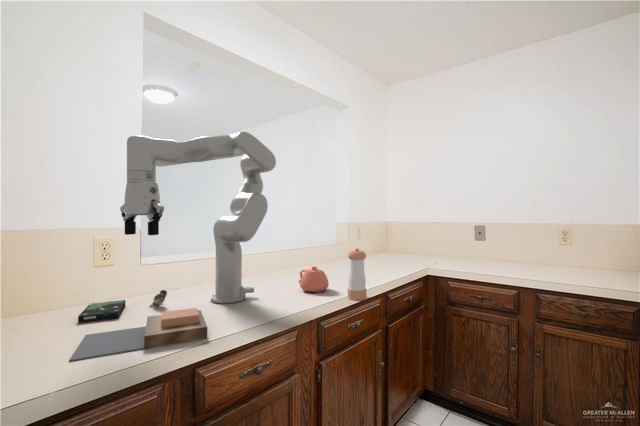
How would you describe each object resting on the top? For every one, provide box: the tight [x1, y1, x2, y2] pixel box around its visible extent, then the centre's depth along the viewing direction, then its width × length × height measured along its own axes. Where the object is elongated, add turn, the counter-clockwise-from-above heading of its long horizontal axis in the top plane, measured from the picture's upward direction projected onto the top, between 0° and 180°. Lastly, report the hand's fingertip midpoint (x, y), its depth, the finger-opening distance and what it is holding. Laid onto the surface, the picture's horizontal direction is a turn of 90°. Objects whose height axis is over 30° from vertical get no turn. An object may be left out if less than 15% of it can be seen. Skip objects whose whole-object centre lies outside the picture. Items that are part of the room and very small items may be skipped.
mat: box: [68, 325, 146, 363], centre depth 75 cm, size 14×16×1 cm
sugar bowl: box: [298, 266, 329, 293], centre depth 131 cm, size 12×14×10 cm
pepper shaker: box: [347, 248, 367, 301], centre depth 118 cm, size 7×7×19 cm
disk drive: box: [77, 299, 126, 324], centre depth 98 cm, size 10×3×15 cm
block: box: [160, 307, 199, 328], centre depth 82 cm, size 9×7×2 cm
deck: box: [143, 309, 208, 350], centre depth 82 cm, size 14×16×3 cm
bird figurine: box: [148, 289, 168, 308], centre depth 106 cm, size 5×5×6 cm
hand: (141, 234), depth 92 cm, fingers open, 9 cm apart
